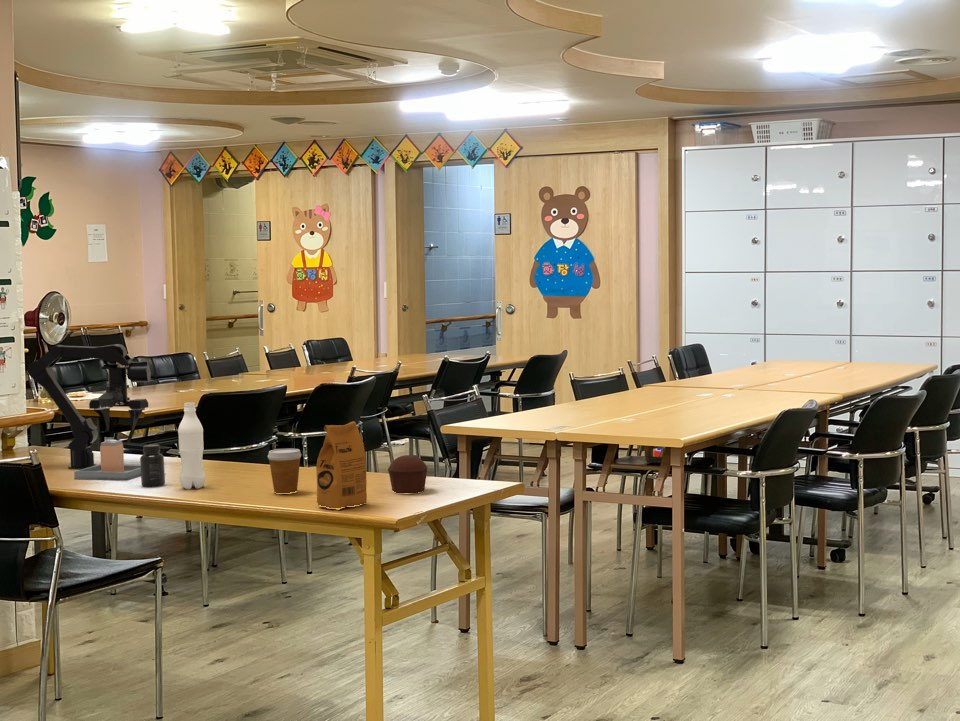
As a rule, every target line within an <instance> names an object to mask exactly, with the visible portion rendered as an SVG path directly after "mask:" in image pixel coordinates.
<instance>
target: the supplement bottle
mask: <svg viewBox="0 0 960 721" xmlns="http://www.w3.org/2000/svg"><path fill="white" fill-rule="evenodd" d="M160 446H161V445H160V444H146V445H143V446H142V453H143V454H142V455H141V456H140V458H139V460H140V461H139V465H140V467H141V476H140V479H141V481H140V483H141V486H142V487H143V488H157V487H162V486H164V485H165V484H166V474H165V457H164V455H163V454H162V453H160V452H161V447H160Z"/></svg>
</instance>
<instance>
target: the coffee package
mask: <svg viewBox="0 0 960 721" xmlns="http://www.w3.org/2000/svg"><path fill="white" fill-rule="evenodd" d="M323 431H324V432H326V436H325V438H324V440H323V445H322V447H321V449H320V451H319V454H318V457H317V460H316V467H315V470H316V471H315V472H316V503H317V505H318V506H319V505H321V506H326V507H329V508H341V507H347V506H354V505H360V504H363V505H365V504H364V503H366V504H367V501H368V494H367V465H366V464H367V462H366V460H367V459H366V451H365V444H364V442H363V439H362V436H361V434H360V430H359V428H358V426H357V423H356V421H350V422H348V423H347V424H343V425H341V424H339V425H336V424H335V425H334V424H330V425H328V424H325V425H324V427H323Z"/></svg>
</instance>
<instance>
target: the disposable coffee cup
mask: <svg viewBox="0 0 960 721" xmlns="http://www.w3.org/2000/svg"><path fill="white" fill-rule="evenodd" d="M301 457H302V453H301V450H300V449H299V448H276V449H272V450H269V451H268V455H267V459H268V460H269V462H268V463H269V467H270V474H271V481H272V486H273V493H274V492H276V493H290V492H295V491H297V492H298V486H299V475H300V474H299V473H300V464H301V463H300V461H301Z"/></svg>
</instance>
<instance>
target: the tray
mask: <svg viewBox="0 0 960 721" xmlns="http://www.w3.org/2000/svg"><path fill="white" fill-rule="evenodd" d="M73 473H74V480H89V481H90V480H91V481H92V480H95V481H98V480H99V481H129V480H132V479H136V478H138V477H141V467H140V464H124V472H101V463H100V464H96V465H95V466H92V467H88V468H85V469H77V470H75V471H73Z"/></svg>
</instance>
